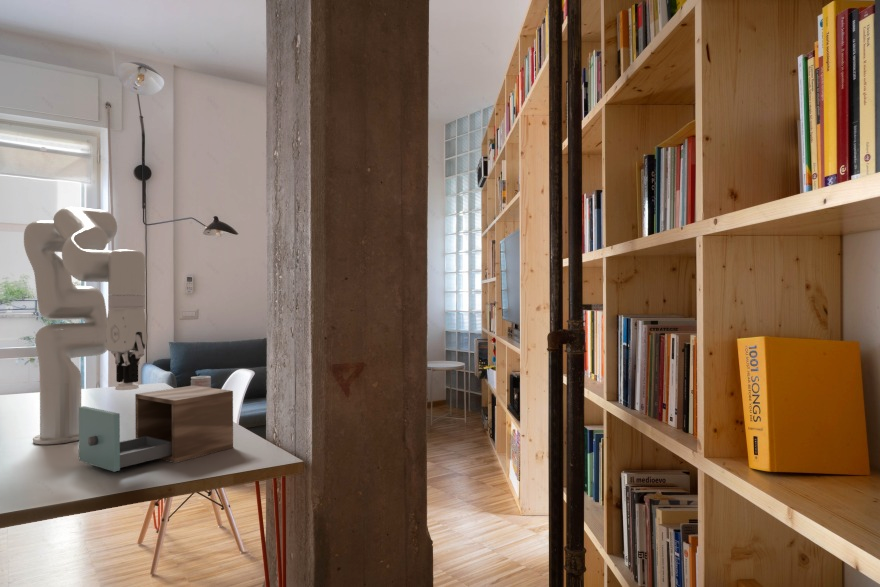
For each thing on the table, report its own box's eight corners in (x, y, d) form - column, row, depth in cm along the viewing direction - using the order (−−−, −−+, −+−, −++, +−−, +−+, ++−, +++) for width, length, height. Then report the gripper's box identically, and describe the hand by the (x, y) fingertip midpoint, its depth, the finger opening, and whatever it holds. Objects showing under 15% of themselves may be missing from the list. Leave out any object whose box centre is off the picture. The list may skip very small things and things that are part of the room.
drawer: (73, 461, 132) (73, 407, 132) (143, 446, 145) (142, 397, 145) (108, 473, 123) (108, 415, 123) (179, 455, 137) (178, 403, 137)
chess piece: (124, 390, 131) (124, 346, 131) (110, 389, 133) (110, 346, 133) (143, 387, 136) (143, 345, 136) (129, 386, 138) (129, 344, 138)
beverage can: (215, 426, 173) (215, 376, 173) (198, 429, 168) (198, 378, 168) (203, 423, 176) (203, 374, 176) (187, 427, 171) (186, 377, 171)
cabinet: (135, 452, 144) (135, 393, 144) (193, 438, 158) (193, 385, 158) (174, 462, 135) (174, 400, 135) (233, 447, 148) (232, 390, 148)
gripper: (93, 303, 136) (93, 381, 136) (129, 303, 127) (129, 387, 127) (125, 302, 142) (125, 377, 142) (161, 302, 133) (162, 382, 133)
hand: (127, 381), depth 134 cm, fingers closed on chess piece
